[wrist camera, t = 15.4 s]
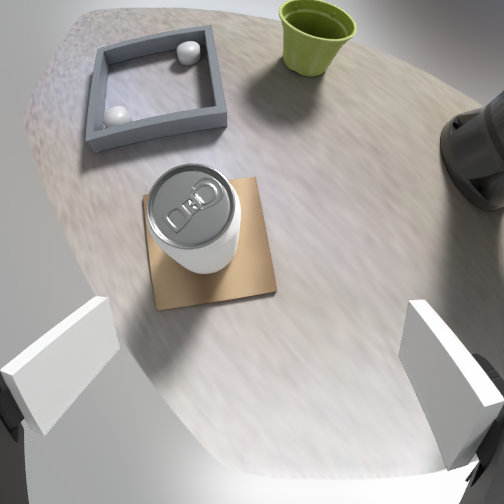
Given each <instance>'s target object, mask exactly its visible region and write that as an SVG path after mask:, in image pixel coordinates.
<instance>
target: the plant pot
mask: <svg viewBox="0 0 504 504" xmlns="http://www.w3.org/2000/svg"><path fill="white" fill-rule="evenodd" d="M279 17H280V19H281V20H282V25H283V28H284V47H283V60H284V63H285V64H286V66H287V67H288V68H289V69H290V70H294V71H296V72H298V73H299V74H300V75H303V76H318V75H321V74H322V73H323V72H325V71H326V69H327V68H328V66H329V65H330V63H331V61H332V60H333V58H334V57H335V55H336V54H337V52H338V51H339V49H340V48H341V46H342V45H343V44H345V43H346V42H347V41H348V40H349V39H351V38H352V37H354V35H355V34H356V31H357V27H356V24H355V22H354V20H353V19H352V18H351V17H350V15H348V14H347V13H346V12H345V11H343V10H342V9H340V8H339V7H337V6H335V5H333V4H330V3H328V2H324V1H321V0H289V1H286V2H285V3H283V4H282V5H281V6H280V8H279Z"/></svg>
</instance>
